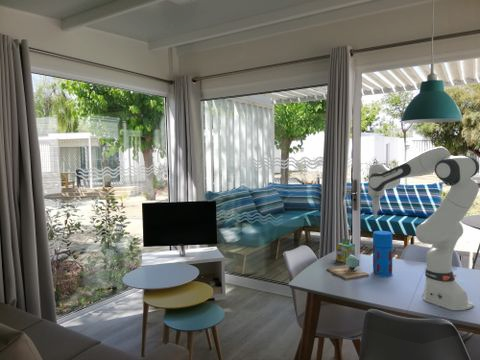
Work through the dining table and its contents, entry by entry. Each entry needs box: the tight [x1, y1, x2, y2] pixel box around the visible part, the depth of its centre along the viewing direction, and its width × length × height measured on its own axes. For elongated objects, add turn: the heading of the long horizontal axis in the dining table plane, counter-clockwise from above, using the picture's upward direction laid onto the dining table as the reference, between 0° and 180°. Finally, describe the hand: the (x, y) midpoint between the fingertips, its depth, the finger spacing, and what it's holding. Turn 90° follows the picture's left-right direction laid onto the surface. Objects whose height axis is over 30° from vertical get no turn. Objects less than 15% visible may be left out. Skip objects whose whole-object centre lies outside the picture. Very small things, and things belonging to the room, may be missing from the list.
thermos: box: [372, 230, 393, 278], centre depth 223 cm, size 11×11×25 cm
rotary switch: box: [345, 255, 360, 268], centre depth 228 cm, size 6×6×6 cm
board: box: [326, 264, 370, 281], centre depth 227 cm, size 20×17×2 cm
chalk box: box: [335, 238, 356, 264], centre depth 251 cm, size 9×9×15 cm
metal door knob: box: [348, 266, 358, 271], centre depth 228 cm, size 5×5×7 cm
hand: (375, 214), depth 219 cm, fingers open, 8 cm apart
